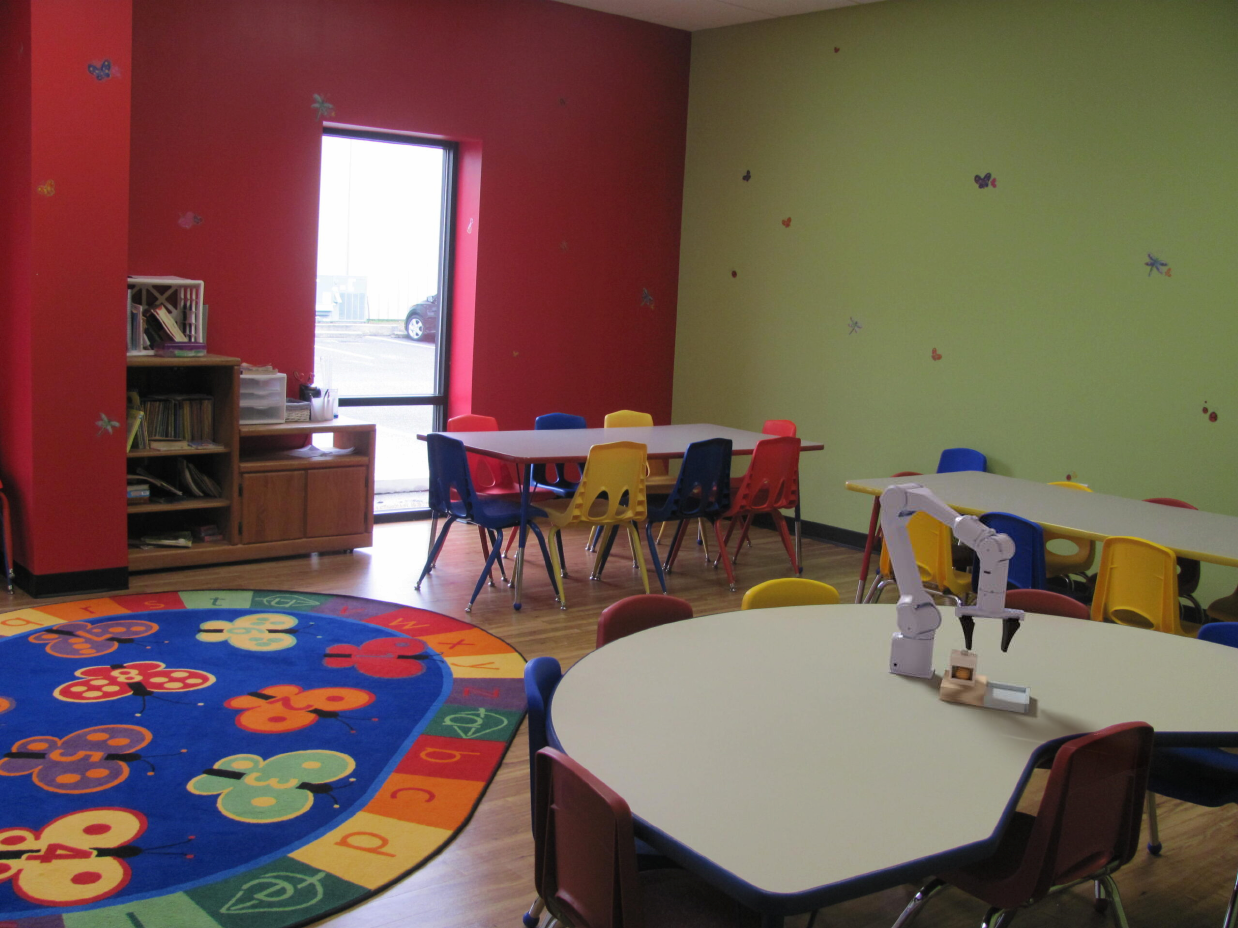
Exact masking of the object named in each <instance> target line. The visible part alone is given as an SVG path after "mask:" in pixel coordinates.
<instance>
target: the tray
mask: <svg viewBox="0 0 1238 928" xmlns="http://www.w3.org/2000/svg"><path fill="white" fill-rule="evenodd" d="M1030 692H1031V686H1025V685H1019V684H1018V685H1017V684H1012V683H1005V682H998V681H993V680H992V681H991V680H987V685H986V691H985V696H984V702H983V706H982V707H983V708H989V709H997V710H1002V711H1008V712H1009V711H1010V712H1013V713H1014V712H1016V713H1021V714H1027V715H1028V714H1029V711H1030V710H1029V709H1030V694H1031V693H1030Z"/></svg>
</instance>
